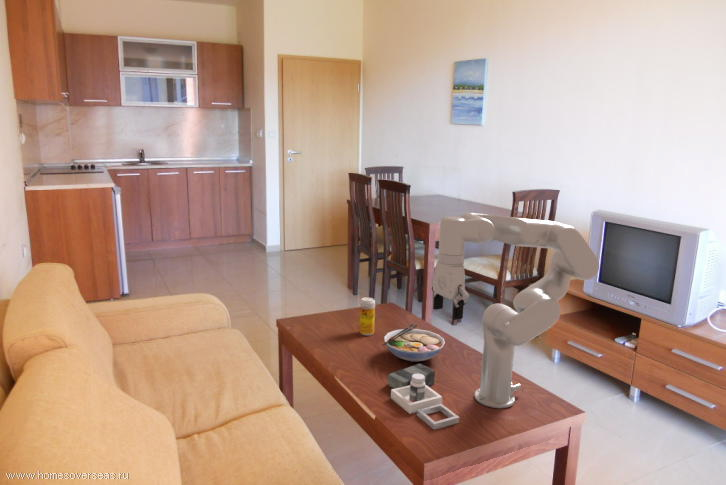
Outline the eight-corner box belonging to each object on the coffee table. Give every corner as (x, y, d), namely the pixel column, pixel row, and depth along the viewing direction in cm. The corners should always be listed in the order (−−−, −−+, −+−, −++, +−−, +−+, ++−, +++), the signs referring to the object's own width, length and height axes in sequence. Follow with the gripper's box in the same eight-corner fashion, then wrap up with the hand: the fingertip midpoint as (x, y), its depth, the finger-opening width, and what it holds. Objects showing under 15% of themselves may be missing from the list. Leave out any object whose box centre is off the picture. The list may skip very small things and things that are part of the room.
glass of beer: (357, 335, 229) (358, 300, 225) (362, 330, 234) (363, 296, 231) (371, 337, 227) (372, 302, 224) (375, 331, 233) (376, 297, 229)
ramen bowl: (424, 378, 191) (426, 356, 190) (369, 361, 204) (370, 340, 202) (455, 354, 212) (456, 334, 210) (403, 340, 224) (404, 321, 222)
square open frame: (440, 408, 171) (441, 403, 170) (458, 422, 163) (459, 417, 163) (416, 415, 167) (416, 409, 166) (434, 429, 159) (434, 424, 159)
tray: (421, 390, 182) (422, 382, 182) (441, 405, 173) (442, 396, 172) (390, 398, 177) (391, 389, 176) (409, 414, 167) (410, 405, 167)
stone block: (385, 385, 186) (385, 371, 185) (417, 375, 194) (417, 361, 193) (402, 396, 179) (402, 381, 178) (434, 385, 187) (435, 370, 186)
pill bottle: (406, 398, 176) (407, 374, 174) (419, 395, 178) (420, 371, 176) (413, 405, 171) (415, 380, 170) (427, 402, 173) (428, 378, 172)
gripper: (423, 253, 169) (421, 306, 172) (459, 266, 154) (455, 325, 157) (443, 251, 172) (440, 303, 176) (480, 264, 157) (476, 321, 161)
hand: (447, 313), depth 166 cm, fingers open, 9 cm apart
